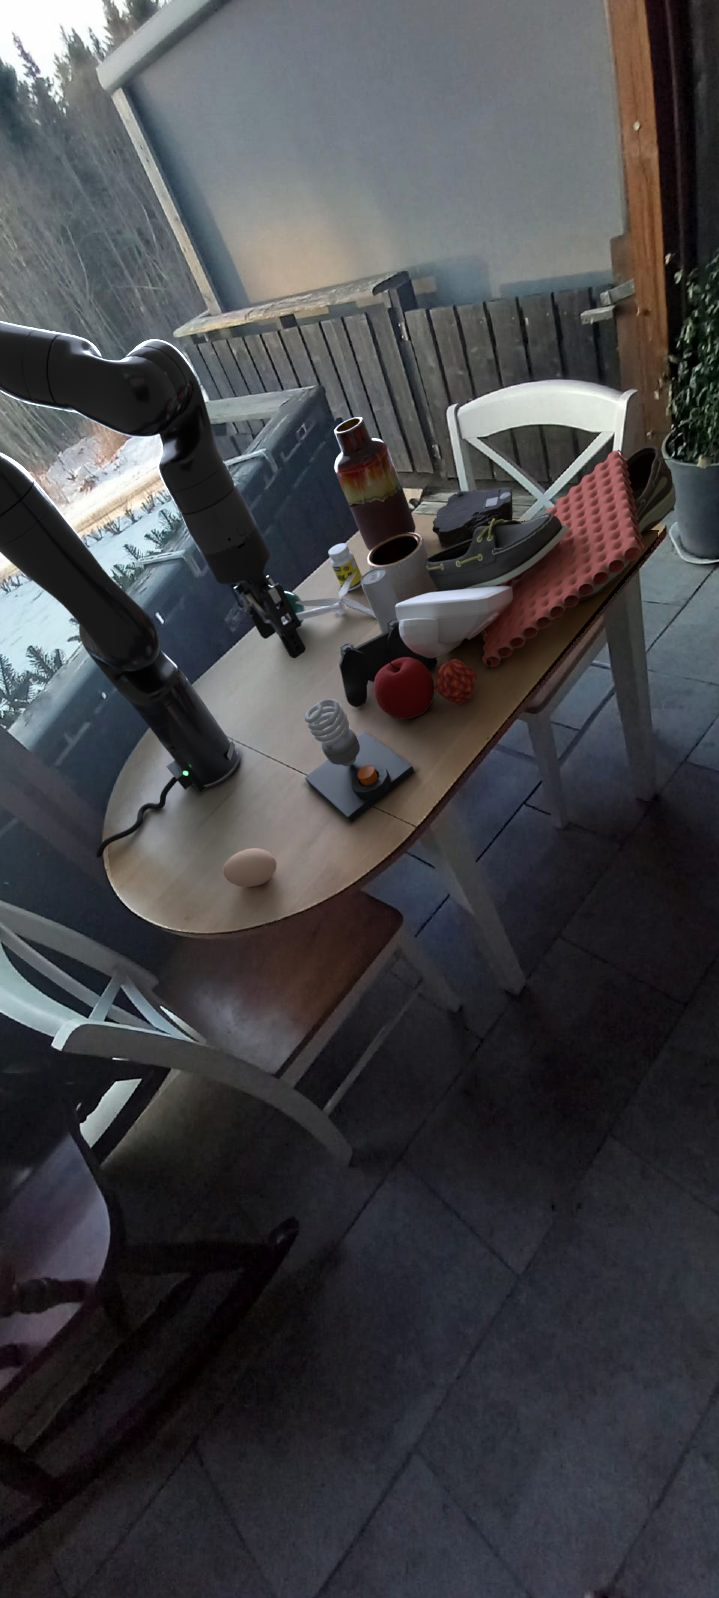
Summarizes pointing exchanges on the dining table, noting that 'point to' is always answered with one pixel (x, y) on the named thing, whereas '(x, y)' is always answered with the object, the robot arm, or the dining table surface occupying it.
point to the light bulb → (333, 732)
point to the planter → (403, 564)
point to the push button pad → (345, 785)
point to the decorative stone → (455, 681)
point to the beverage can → (380, 596)
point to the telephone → (449, 617)
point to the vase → (371, 484)
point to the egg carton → (572, 557)
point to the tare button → (367, 775)
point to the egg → (250, 867)
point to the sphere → (294, 603)
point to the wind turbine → (332, 604)
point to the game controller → (373, 661)
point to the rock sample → (471, 514)
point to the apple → (404, 688)
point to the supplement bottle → (345, 565)
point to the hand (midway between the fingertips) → (284, 644)
